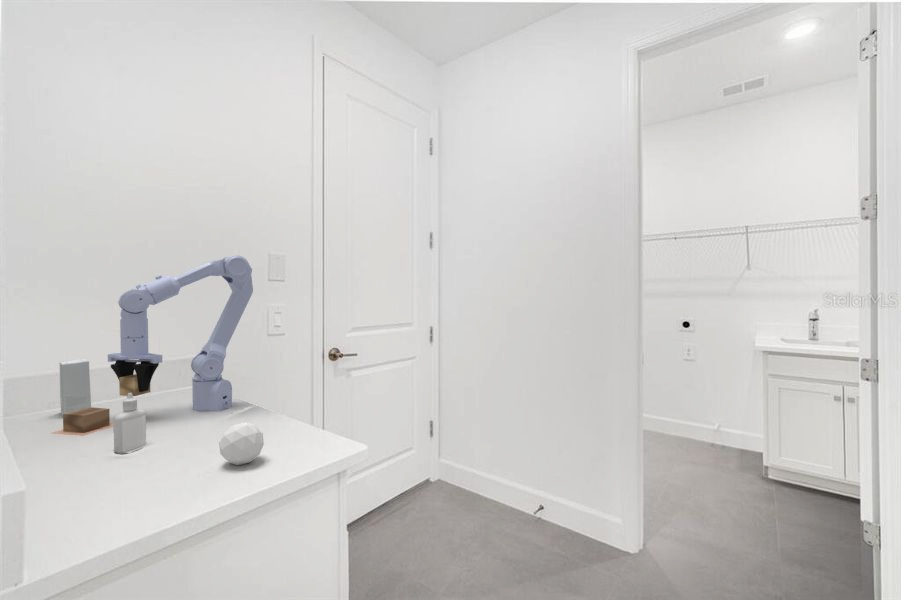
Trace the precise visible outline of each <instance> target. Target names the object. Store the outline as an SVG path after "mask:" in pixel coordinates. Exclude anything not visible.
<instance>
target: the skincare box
mask: <svg viewBox="0 0 901 600" xmlns="http://www.w3.org/2000/svg"><path fill="white" fill-rule="evenodd" d="M90 374H91V373H90V361H89V360H88V359H87V358H82V359H81V358H80V359H74V360H73V359H72V360H64V361H59V395H60V396H59V397H60V399H59V400H60V413H61V416H62V417H63V414H65V413H69V412H73V411H77V410H81V409H85V408H89V407H91V408H92V399H91V398H92V397H91V395H92V394H91V381H90V379H91V377H90V376H91V375H90Z"/></svg>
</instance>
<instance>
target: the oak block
mask: <svg viewBox="0 0 901 600" xmlns="http://www.w3.org/2000/svg"><path fill="white" fill-rule="evenodd" d="M118 381H119V396H120V397H121V396H122V397H127V395H128V393H132V395H133V397H137V396H141V395H145V394H149V393H151V384H150V385H149V389H148V390H147V391H143V392H139V389H138V379H137V375H136V373H135V374H134V373H133V375H129V376H124V377H119V379H118Z"/></svg>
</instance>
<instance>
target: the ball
mask: <svg viewBox="0 0 901 600" xmlns="http://www.w3.org/2000/svg"><path fill="white" fill-rule="evenodd" d="M264 444H265V442H264V433H263V432H262V431H261V429H259V427H258V426H257V425H256V424H253V423H249V422H246V421H245V422H241V423H237V424H234V425H231V427H229V428H228V429H227V430H225V431H223V434H222V436H221V438H220V440H219V442H218V445H219V453H220V455H221V456H222V458H223V459H224V460H225V461H227V463H230V464H233V465H236V466H240V465H241V466H242V465H245V464H248V463H250V462H252V461H253V460H255V459H256V458H257V457H258V456H260V455H261V452H262V449H263V447H264Z"/></svg>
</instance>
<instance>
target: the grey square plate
mask: <svg viewBox="0 0 901 600" xmlns="http://www.w3.org/2000/svg"><path fill="white" fill-rule="evenodd" d="M112 427H113V428H114V422H110V425H109V426H105V427H102V428H99V429H96V430H93V431H89V432H86V433H78V432H66V431H63V429H59V430H56V431H53V432H51V434H57V435H69V436H81V437H83V436H86V435H87V436H88V435H91V434H93V433H97V432H99V431H102V430H106V429H109V428H112Z"/></svg>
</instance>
